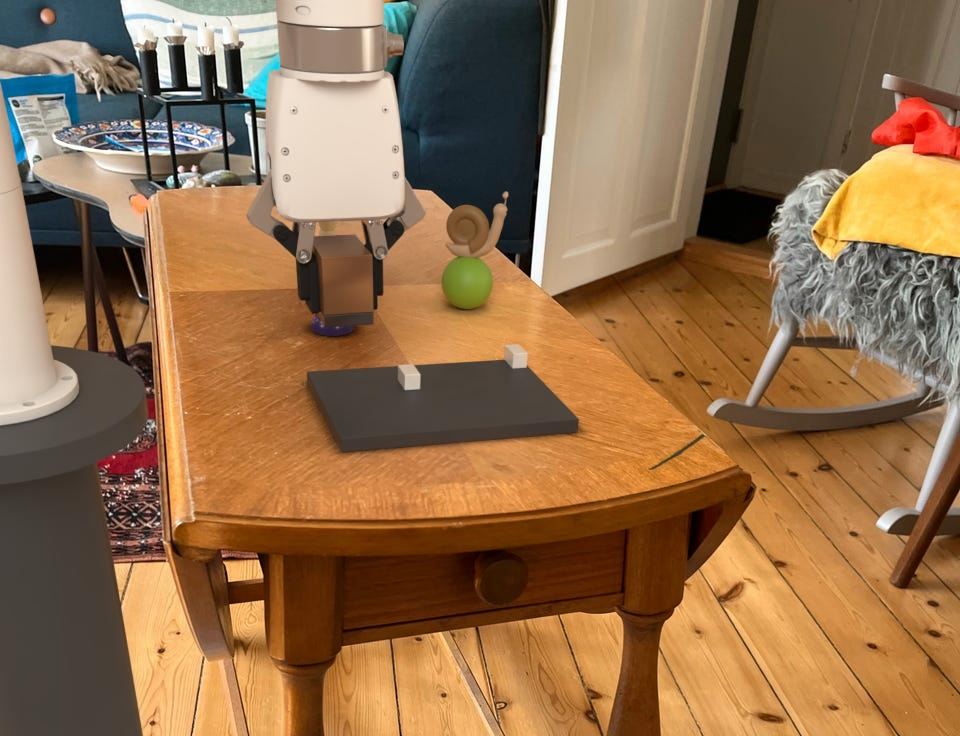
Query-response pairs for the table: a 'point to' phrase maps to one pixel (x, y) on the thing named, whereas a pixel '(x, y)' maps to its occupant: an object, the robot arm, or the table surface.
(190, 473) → the table surface
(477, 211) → the snail figurine
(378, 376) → the board
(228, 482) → the table surface
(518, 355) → the chalk piece
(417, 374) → the chalk piece
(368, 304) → the eraser
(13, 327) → the robot arm
